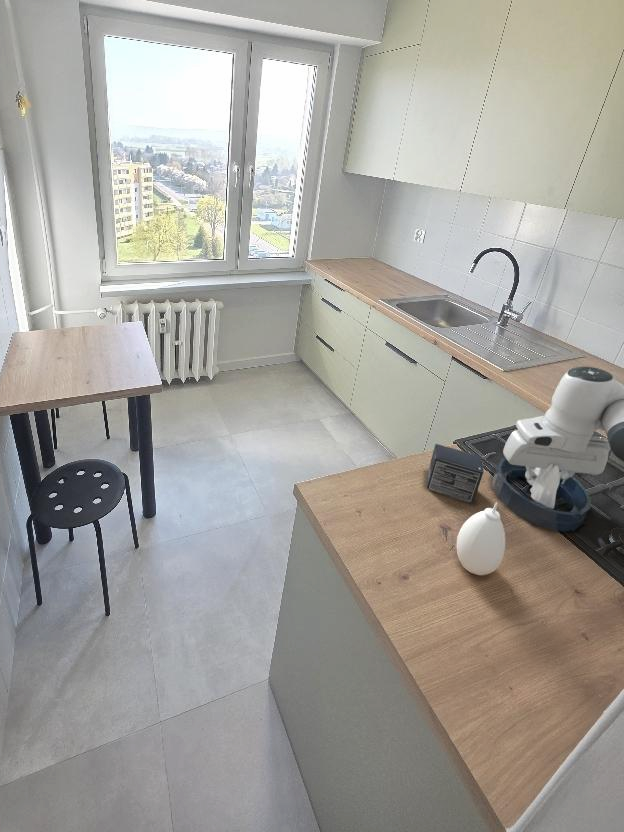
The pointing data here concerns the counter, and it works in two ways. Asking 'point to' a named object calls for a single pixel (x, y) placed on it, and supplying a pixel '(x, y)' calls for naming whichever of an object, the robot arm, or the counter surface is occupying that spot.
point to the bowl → (536, 513)
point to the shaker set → (545, 486)
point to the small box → (455, 473)
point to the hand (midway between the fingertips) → (543, 480)
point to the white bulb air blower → (481, 542)
